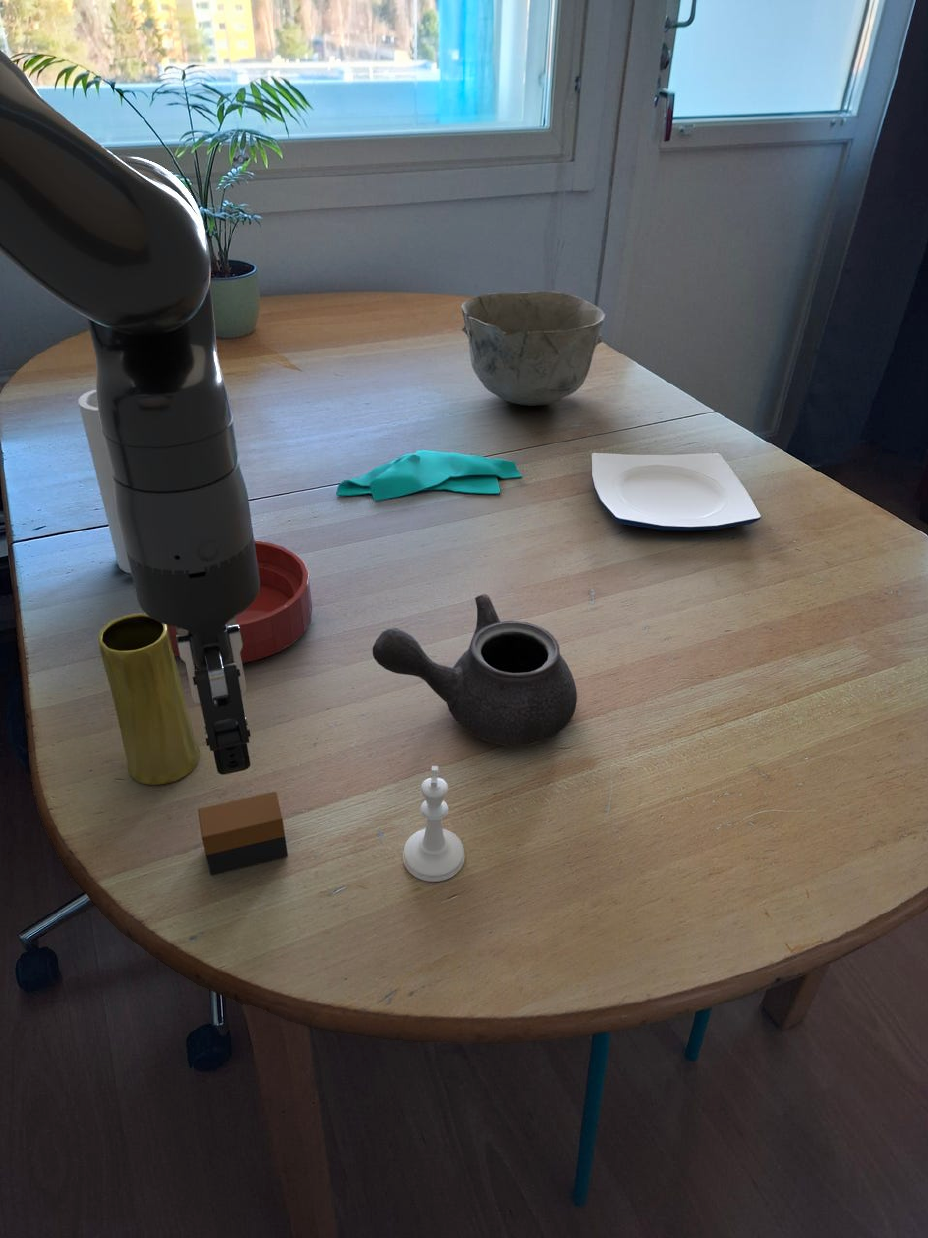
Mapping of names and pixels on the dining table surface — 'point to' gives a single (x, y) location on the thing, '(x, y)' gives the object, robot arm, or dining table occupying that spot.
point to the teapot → (494, 678)
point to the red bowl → (272, 605)
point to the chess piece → (433, 837)
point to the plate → (672, 491)
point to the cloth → (431, 475)
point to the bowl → (531, 343)
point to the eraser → (242, 832)
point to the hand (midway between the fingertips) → (226, 727)
